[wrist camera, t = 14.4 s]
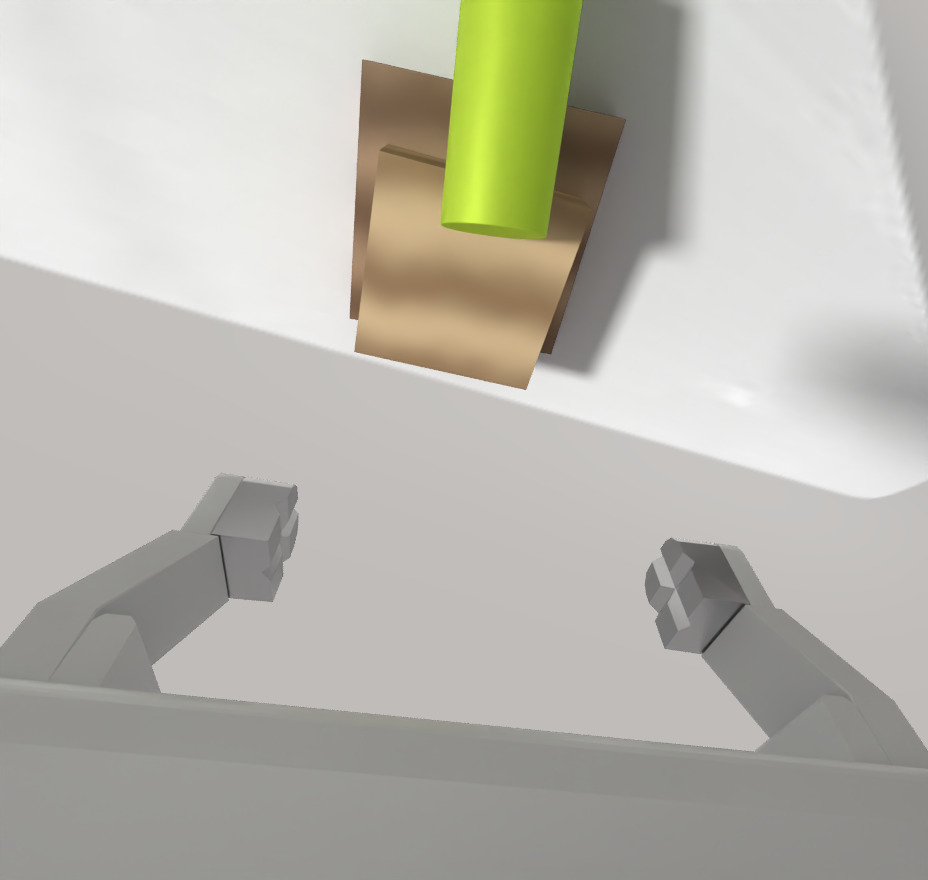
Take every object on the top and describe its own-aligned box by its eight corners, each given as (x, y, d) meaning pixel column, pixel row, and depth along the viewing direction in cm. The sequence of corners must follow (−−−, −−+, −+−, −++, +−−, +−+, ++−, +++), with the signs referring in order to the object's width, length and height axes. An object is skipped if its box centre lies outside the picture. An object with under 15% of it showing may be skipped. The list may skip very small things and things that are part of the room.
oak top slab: (387, 143, 31) (378, 150, 28) (582, 198, 33) (592, 209, 30) (362, 331, 38) (354, 351, 36) (522, 368, 40) (525, 390, 37)
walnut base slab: (372, 61, 31) (362, 59, 28) (612, 116, 33) (625, 119, 30) (358, 301, 41) (349, 318, 38) (545, 335, 42) (550, 354, 39)
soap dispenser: (530, 242, 31) (590, -176, 25) (558, 234, 25) (649, -335, 19) (438, 230, 31) (477, -202, 24) (442, 218, 24) (497, -376, 18)
